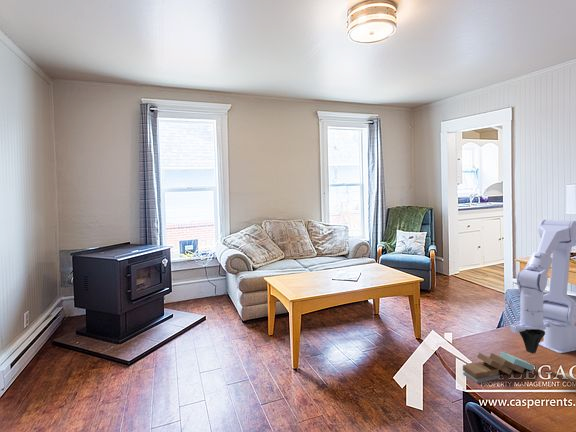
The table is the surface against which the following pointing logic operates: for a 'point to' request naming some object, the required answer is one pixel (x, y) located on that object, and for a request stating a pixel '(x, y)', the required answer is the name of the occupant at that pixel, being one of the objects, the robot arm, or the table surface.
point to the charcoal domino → (481, 378)
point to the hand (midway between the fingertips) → (531, 352)
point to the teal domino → (517, 361)
